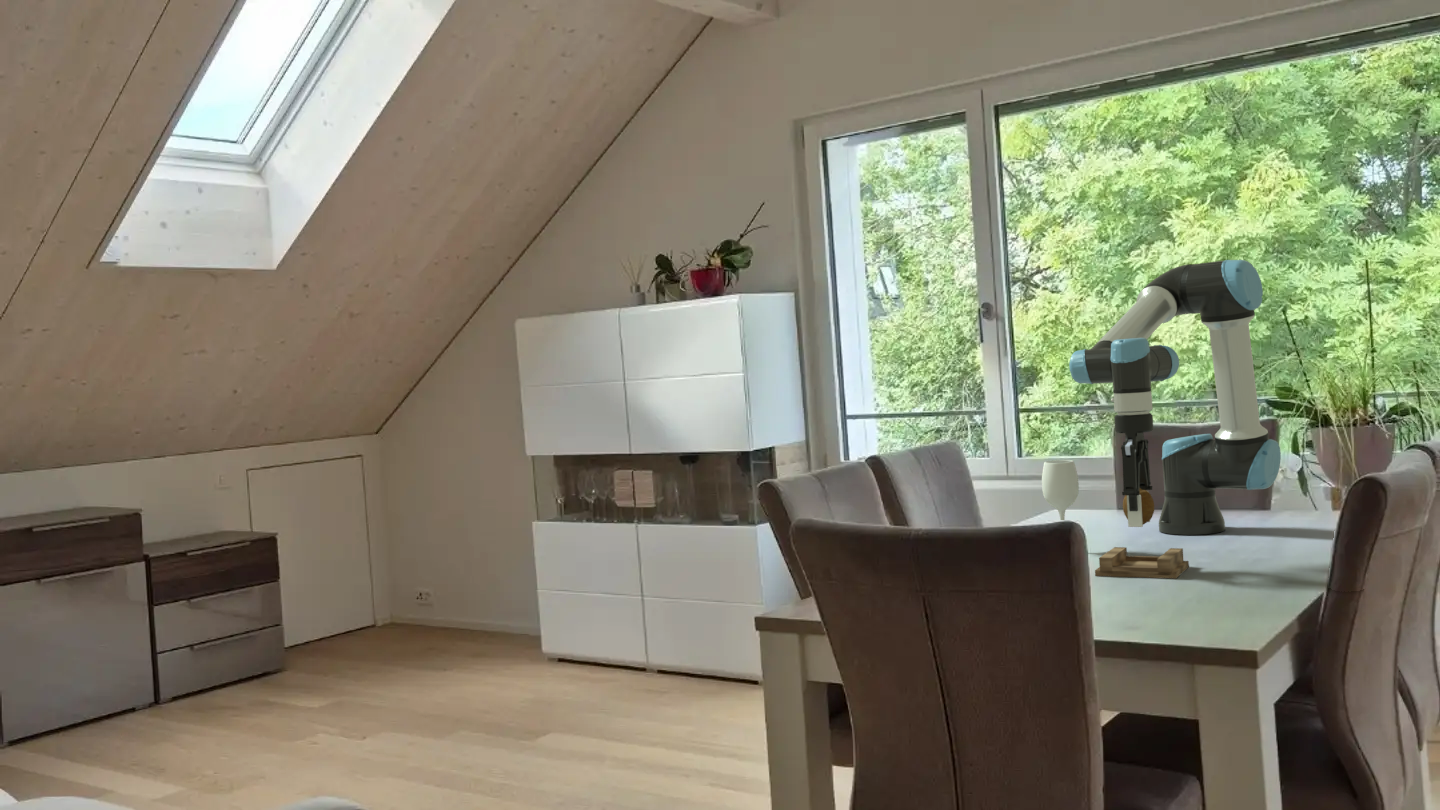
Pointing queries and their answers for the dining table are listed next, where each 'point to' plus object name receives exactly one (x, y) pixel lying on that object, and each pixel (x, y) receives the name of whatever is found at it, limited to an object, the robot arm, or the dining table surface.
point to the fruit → (1146, 506)
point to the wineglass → (1060, 484)
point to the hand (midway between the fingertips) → (1139, 523)
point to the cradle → (1142, 564)
